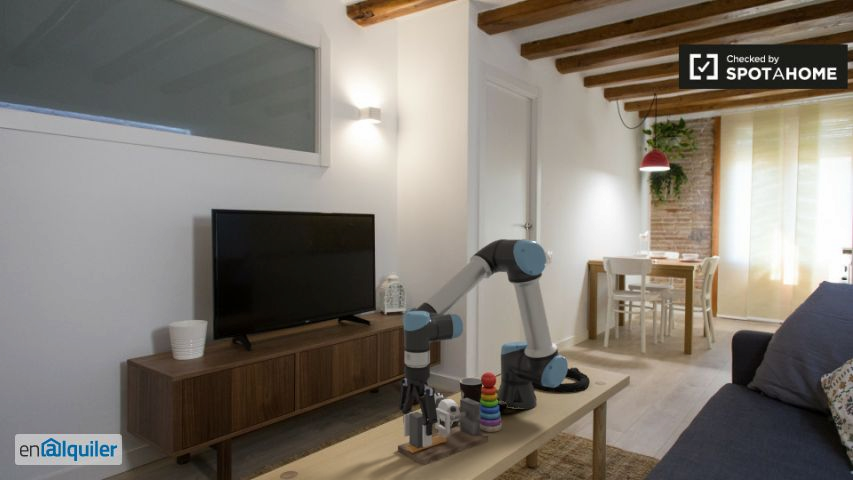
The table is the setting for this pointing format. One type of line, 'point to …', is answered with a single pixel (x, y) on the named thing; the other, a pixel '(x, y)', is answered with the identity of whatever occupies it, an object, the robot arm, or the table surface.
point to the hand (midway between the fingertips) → (417, 440)
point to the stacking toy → (489, 405)
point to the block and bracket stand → (417, 430)
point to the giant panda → (446, 407)
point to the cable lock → (568, 386)
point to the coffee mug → (471, 388)
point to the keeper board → (453, 435)
